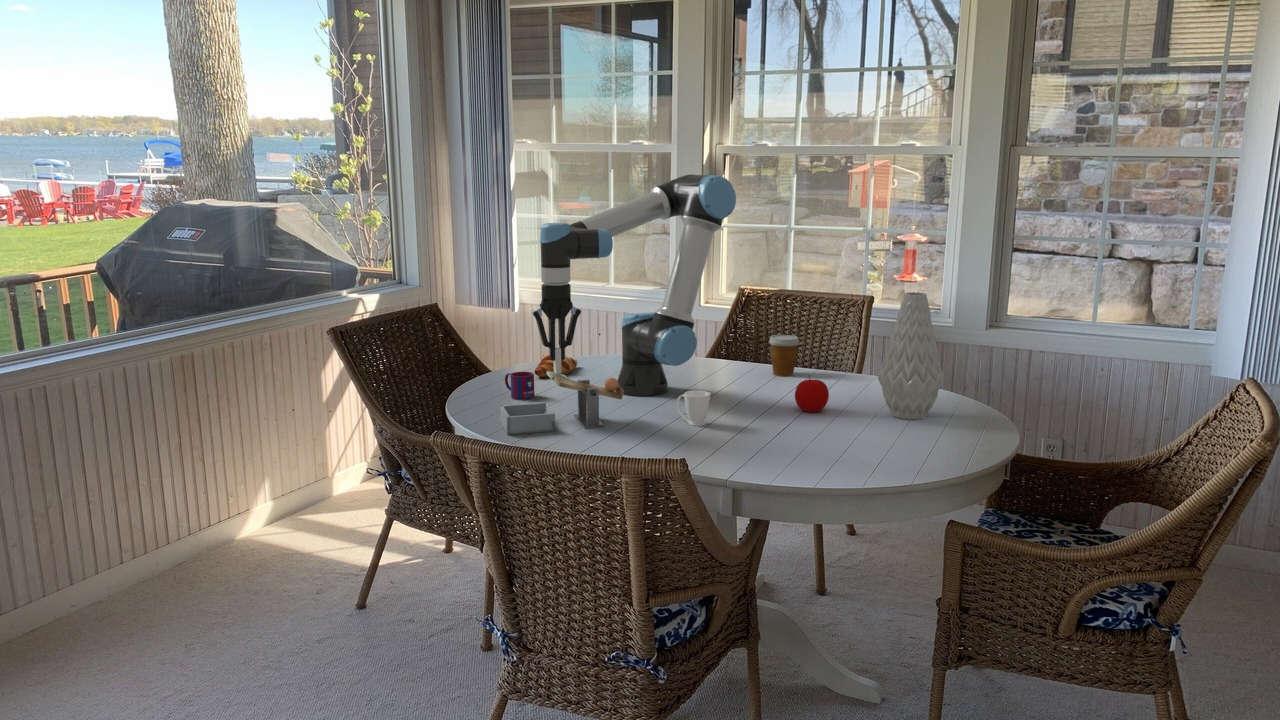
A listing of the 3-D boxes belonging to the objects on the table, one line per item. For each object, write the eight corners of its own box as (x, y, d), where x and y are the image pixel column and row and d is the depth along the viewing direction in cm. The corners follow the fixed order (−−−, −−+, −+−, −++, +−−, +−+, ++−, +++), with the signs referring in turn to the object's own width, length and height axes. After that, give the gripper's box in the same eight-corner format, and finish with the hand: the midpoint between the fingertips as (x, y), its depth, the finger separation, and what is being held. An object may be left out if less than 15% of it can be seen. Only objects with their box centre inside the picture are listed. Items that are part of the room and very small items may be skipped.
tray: (545, 418, 252) (545, 402, 251) (555, 431, 240) (554, 413, 239) (500, 422, 248) (499, 405, 247) (507, 435, 237) (507, 417, 236)
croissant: (569, 376, 317) (559, 354, 317) (591, 365, 311) (581, 343, 312) (529, 388, 299) (520, 364, 299) (552, 376, 293) (542, 352, 294)
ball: (614, 390, 251) (617, 377, 251) (618, 393, 248) (621, 380, 247) (601, 388, 250) (604, 374, 249) (605, 391, 247) (608, 377, 246)
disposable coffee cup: (800, 377, 298) (801, 339, 296) (769, 377, 298) (770, 339, 296) (796, 371, 308) (797, 334, 305) (766, 371, 308) (767, 334, 305)
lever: (607, 387, 260) (610, 378, 259) (621, 399, 247) (624, 390, 246) (546, 374, 254) (548, 364, 254) (557, 385, 241) (559, 376, 240)
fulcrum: (592, 415, 255) (591, 378, 253) (603, 426, 244) (603, 388, 242) (573, 416, 254) (573, 380, 252) (584, 428, 242) (583, 390, 240)
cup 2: (700, 429, 242) (700, 398, 240) (668, 422, 248) (668, 392, 246) (715, 423, 247) (716, 392, 246) (684, 416, 253) (685, 387, 252)
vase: (872, 421, 249) (878, 296, 242) (879, 405, 264) (885, 288, 257) (939, 427, 243) (947, 299, 236) (943, 411, 258) (950, 290, 251)
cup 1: (521, 401, 270) (520, 377, 269) (499, 395, 277) (498, 372, 276) (539, 396, 275) (538, 373, 274) (517, 391, 282) (516, 368, 281)
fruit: (803, 404, 266) (804, 369, 264) (833, 409, 261) (834, 373, 258) (788, 411, 258) (789, 375, 256) (819, 416, 253) (820, 380, 251)
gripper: (577, 280, 252) (578, 367, 257) (528, 282, 248) (530, 370, 253) (583, 284, 245) (584, 373, 250) (533, 285, 241) (535, 376, 246)
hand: (557, 372), depth 252 cm, fingers closed
